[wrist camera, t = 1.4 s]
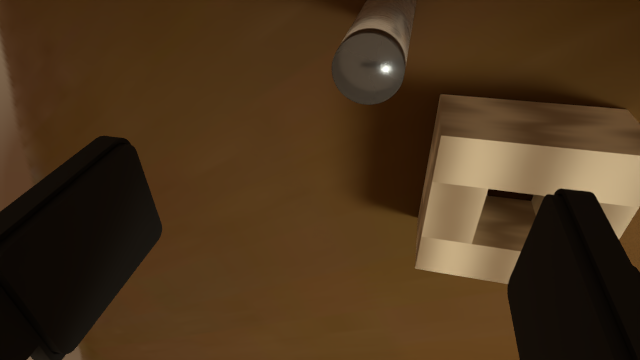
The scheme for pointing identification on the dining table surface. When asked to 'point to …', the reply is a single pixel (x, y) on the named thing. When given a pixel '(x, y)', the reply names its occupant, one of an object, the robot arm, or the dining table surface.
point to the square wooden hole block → (517, 177)
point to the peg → (375, 51)
